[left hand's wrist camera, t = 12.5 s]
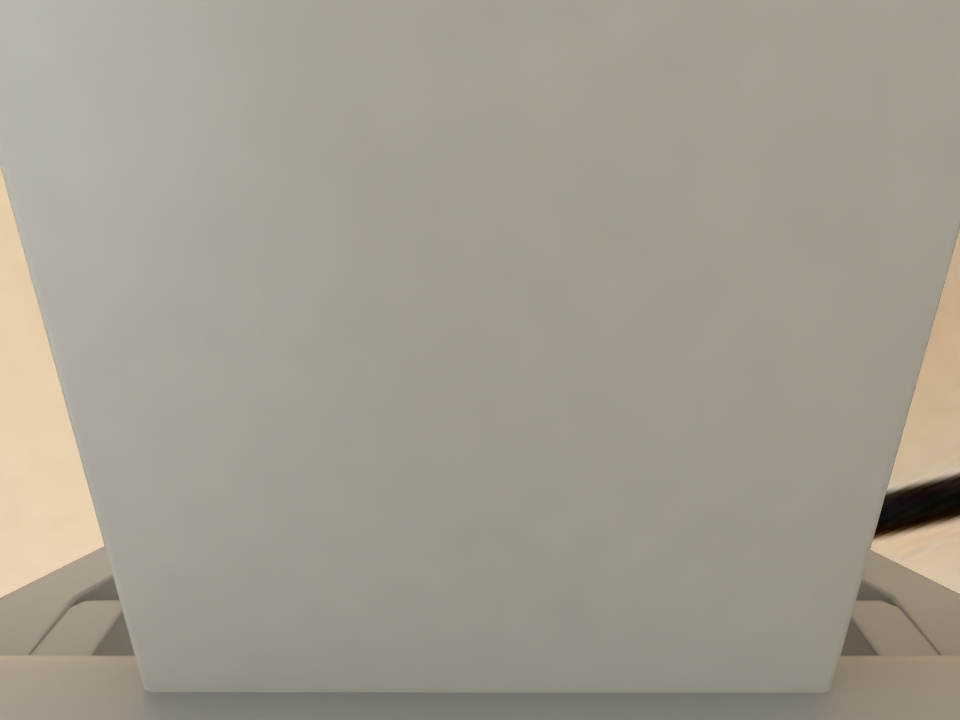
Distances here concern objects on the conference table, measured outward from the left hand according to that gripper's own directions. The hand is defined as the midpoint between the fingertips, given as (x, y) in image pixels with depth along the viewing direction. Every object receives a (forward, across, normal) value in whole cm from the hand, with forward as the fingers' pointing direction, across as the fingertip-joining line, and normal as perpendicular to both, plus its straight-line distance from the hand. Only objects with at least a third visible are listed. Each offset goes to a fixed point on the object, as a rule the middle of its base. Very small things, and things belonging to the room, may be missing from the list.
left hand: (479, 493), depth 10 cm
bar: (+3, 0, -9) cm, 9 cm away
